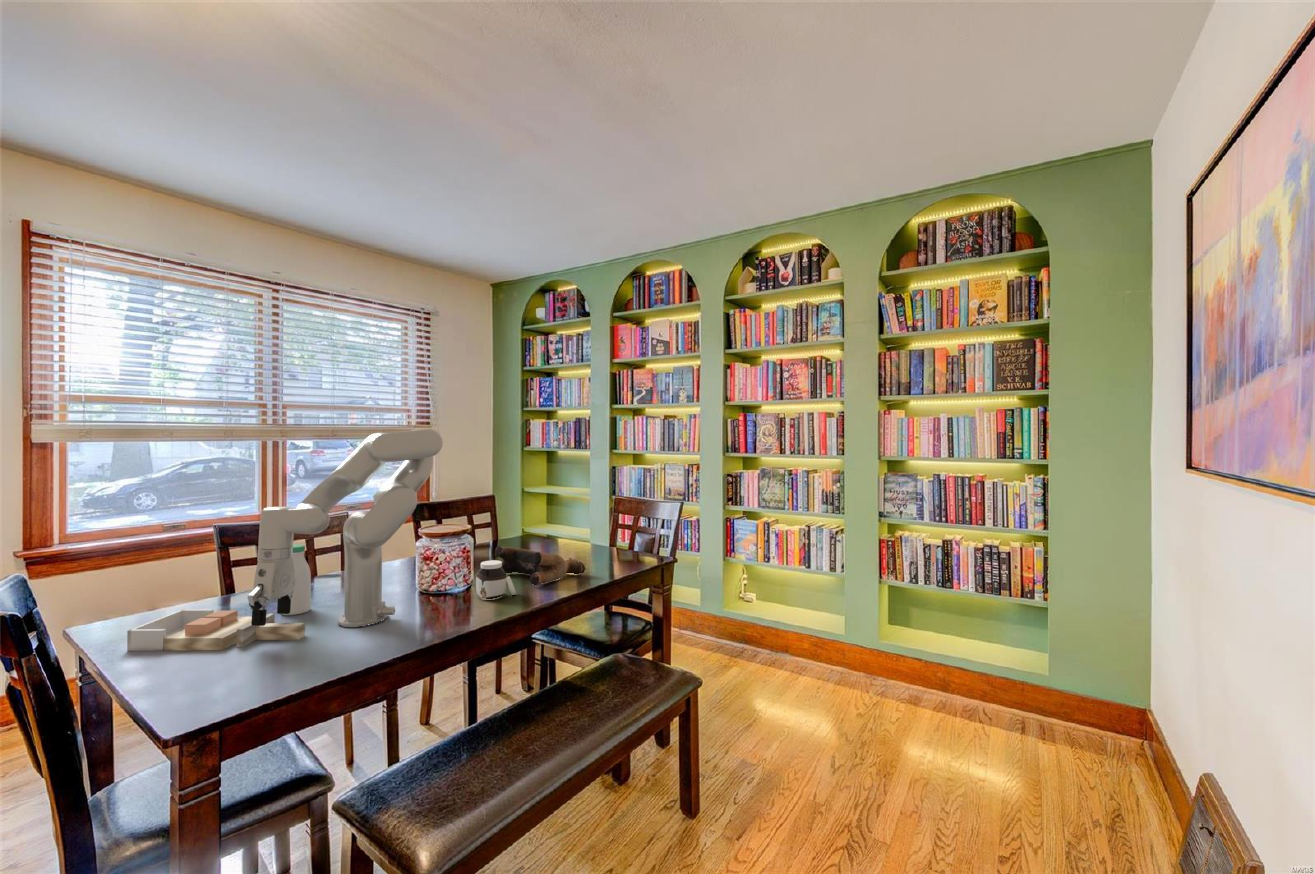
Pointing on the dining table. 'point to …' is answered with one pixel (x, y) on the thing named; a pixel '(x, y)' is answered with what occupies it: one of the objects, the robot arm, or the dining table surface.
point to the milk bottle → (300, 583)
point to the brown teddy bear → (537, 564)
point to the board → (207, 637)
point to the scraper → (269, 631)
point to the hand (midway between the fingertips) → (271, 619)
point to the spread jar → (492, 580)
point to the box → (161, 630)
